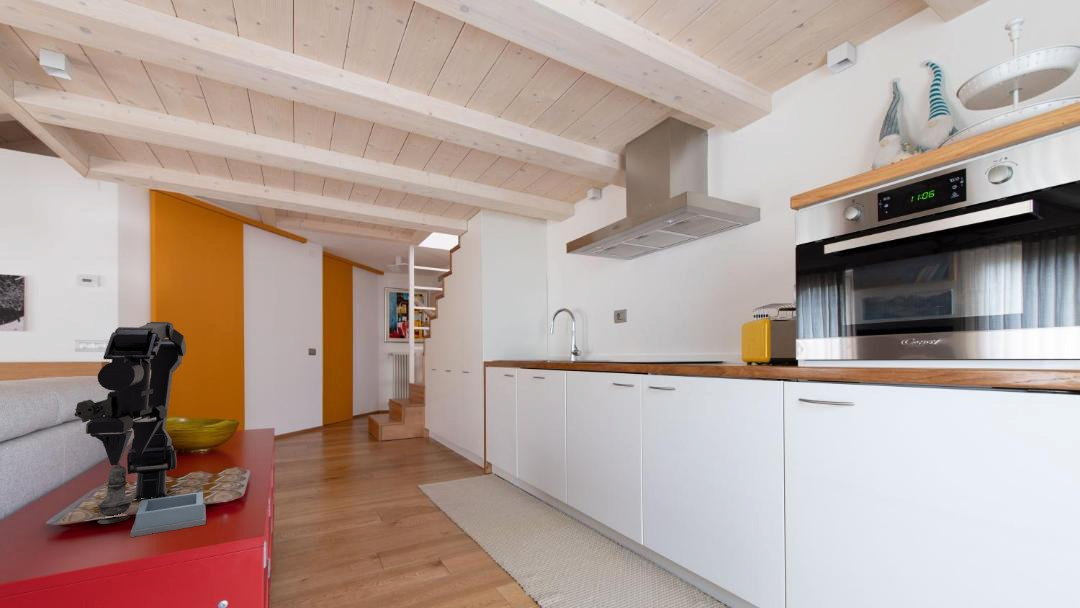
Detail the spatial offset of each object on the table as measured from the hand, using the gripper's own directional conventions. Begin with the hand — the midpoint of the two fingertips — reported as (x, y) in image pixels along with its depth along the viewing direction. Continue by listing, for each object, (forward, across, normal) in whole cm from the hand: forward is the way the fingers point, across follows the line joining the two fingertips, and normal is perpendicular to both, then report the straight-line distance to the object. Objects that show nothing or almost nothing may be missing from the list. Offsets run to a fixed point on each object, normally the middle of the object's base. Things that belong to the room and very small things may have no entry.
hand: (127, 459), depth 102 cm
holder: (+13, +3, +10) cm, 16 cm away
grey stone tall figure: (+13, -2, -3) cm, 14 cm away
